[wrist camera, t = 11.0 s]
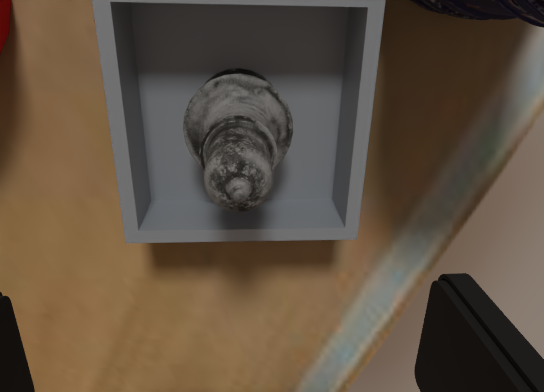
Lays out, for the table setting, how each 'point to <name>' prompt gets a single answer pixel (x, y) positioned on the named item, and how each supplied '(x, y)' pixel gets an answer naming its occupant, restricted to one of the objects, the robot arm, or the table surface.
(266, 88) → the grey pawn
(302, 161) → the box
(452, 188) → the table surface
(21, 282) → the table surface
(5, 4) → the kitchen timer
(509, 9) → the storage jar
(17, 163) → the table surface
